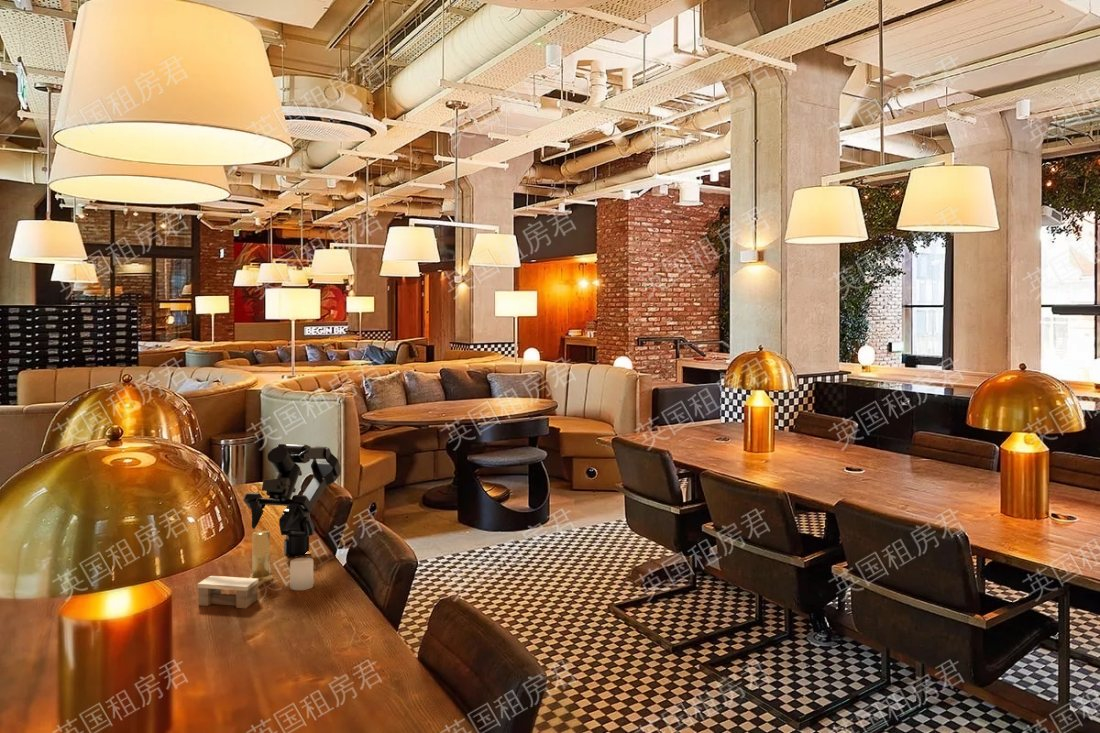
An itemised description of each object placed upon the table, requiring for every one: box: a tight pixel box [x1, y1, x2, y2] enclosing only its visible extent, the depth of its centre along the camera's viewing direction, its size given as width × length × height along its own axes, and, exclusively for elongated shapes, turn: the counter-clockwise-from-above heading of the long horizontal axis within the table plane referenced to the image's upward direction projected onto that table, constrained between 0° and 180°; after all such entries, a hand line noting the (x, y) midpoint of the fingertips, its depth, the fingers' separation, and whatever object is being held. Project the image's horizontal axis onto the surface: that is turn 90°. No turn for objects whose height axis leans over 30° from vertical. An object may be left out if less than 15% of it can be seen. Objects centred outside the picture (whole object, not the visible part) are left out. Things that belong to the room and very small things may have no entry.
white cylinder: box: [289, 557, 314, 591], centre depth 204 cm, size 6×6×7 cm
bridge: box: [197, 575, 259, 609], centre depth 191 cm, size 6×13×6 cm, turn 84°
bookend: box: [249, 530, 274, 587], centre depth 205 cm, size 12×6×13 cm, turn 174°
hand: (268, 529), depth 213 cm, fingers open, 9 cm apart
